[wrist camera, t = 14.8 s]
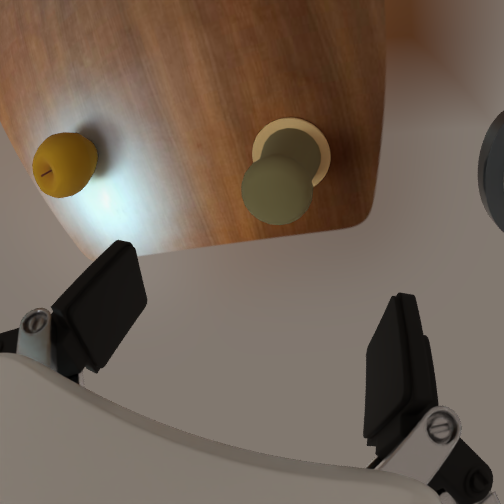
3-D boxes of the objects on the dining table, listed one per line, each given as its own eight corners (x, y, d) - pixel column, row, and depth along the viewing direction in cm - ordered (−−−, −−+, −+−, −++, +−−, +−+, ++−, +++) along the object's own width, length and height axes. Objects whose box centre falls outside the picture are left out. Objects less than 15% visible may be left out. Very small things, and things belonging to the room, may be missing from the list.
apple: (99, 112, 30) (48, 130, 23) (119, 171, 35) (75, 200, 28) (61, 134, 33) (16, 155, 26) (80, 185, 37) (39, 213, 30)
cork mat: (335, 123, 26) (335, 124, 26) (324, 196, 31) (324, 198, 30) (255, 113, 27) (254, 114, 27) (251, 185, 32) (250, 187, 32)
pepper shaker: (326, 135, 27) (327, 168, 18) (313, 190, 30) (306, 246, 21) (266, 122, 27) (235, 148, 18) (257, 177, 31) (226, 226, 22)
